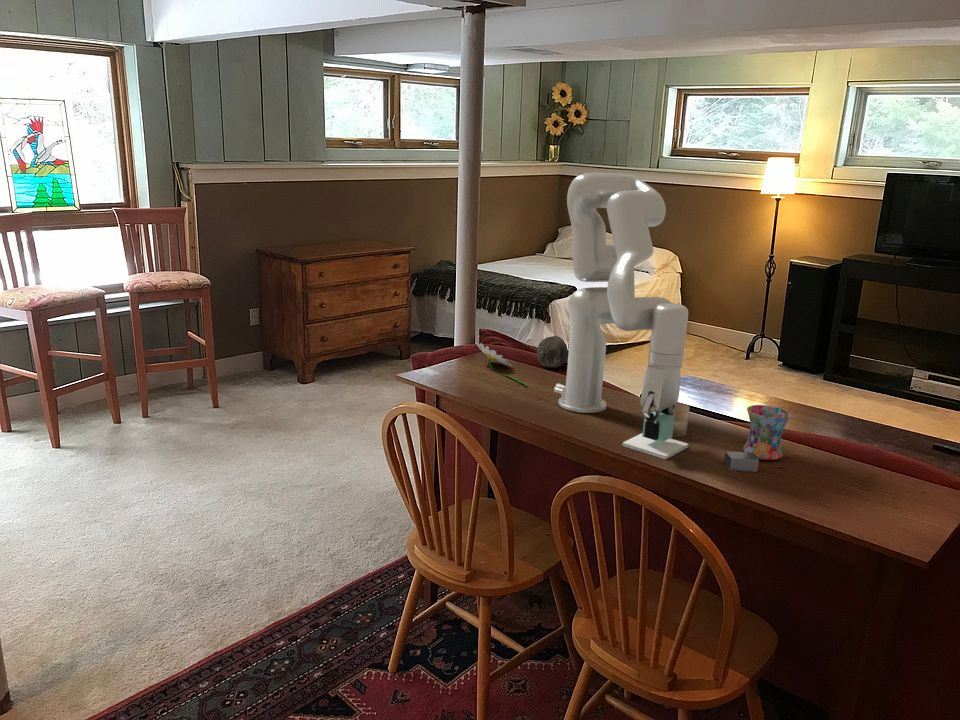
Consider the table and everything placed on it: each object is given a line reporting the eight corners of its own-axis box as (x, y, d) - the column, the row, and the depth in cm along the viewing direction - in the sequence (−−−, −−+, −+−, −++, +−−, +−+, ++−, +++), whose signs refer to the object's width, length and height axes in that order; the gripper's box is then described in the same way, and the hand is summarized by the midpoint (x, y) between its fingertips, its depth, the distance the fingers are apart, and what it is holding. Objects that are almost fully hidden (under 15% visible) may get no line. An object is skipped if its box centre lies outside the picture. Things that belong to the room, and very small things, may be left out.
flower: (518, 369, 212) (472, 333, 236) (507, 385, 212) (463, 348, 236) (548, 389, 219) (501, 352, 243) (537, 404, 219) (491, 366, 244)
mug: (768, 466, 167) (775, 420, 164) (732, 452, 174) (738, 408, 171) (798, 456, 174) (806, 412, 171) (762, 443, 181) (769, 400, 178)
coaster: (622, 445, 174) (622, 442, 174) (645, 434, 182) (646, 431, 182) (665, 459, 168) (666, 456, 167) (688, 447, 176) (688, 443, 175)
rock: (542, 368, 232) (546, 336, 231) (530, 363, 243) (534, 332, 242) (572, 371, 235) (577, 339, 234) (559, 366, 246) (563, 335, 245)
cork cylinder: (661, 432, 184) (664, 405, 182) (670, 428, 188) (674, 401, 186) (680, 438, 181) (683, 410, 179) (689, 433, 185) (693, 406, 183)
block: (642, 436, 174) (644, 415, 173) (652, 431, 178) (654, 411, 176) (661, 442, 171) (664, 421, 170) (672, 437, 174) (674, 416, 173)
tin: (729, 471, 163) (731, 458, 163) (723, 464, 167) (725, 451, 167) (757, 472, 164) (759, 459, 163) (750, 465, 167) (752, 452, 167)
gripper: (668, 349, 178) (659, 423, 183) (631, 361, 166) (623, 440, 170) (698, 356, 174) (688, 431, 178) (662, 368, 161) (653, 449, 166)
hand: (657, 434), depth 174 cm, fingers closed on block, 5 cm apart
